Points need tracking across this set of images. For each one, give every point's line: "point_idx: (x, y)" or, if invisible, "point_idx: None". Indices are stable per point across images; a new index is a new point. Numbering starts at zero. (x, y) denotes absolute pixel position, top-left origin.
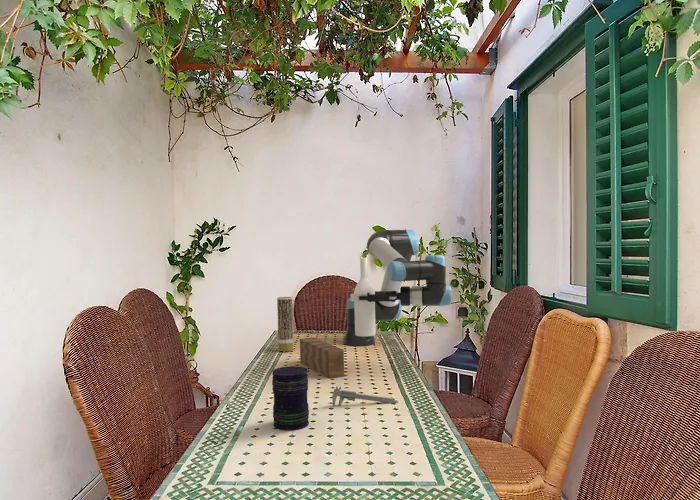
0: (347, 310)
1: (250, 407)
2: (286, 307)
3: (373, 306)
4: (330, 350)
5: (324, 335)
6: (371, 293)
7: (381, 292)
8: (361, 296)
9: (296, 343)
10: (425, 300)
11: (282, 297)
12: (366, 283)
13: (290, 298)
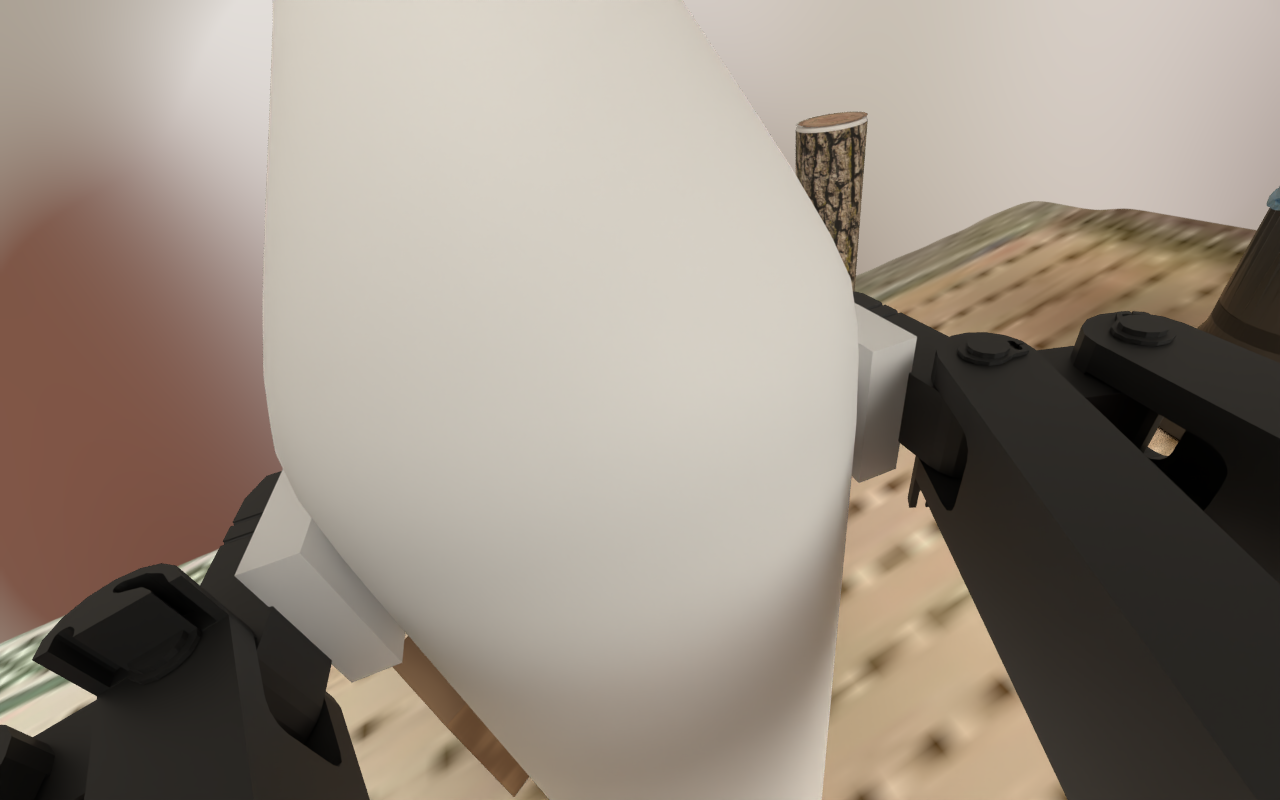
0: (1267, 212)
1: (44, 685)
2: (813, 173)
3: (610, 795)
4: (416, 650)
5: (1158, 270)
6: (404, 603)
7: (1202, 729)
8: (237, 525)
9: (944, 296)
10: None
11: (829, 117)
12: (269, 170)
13: (840, 127)
